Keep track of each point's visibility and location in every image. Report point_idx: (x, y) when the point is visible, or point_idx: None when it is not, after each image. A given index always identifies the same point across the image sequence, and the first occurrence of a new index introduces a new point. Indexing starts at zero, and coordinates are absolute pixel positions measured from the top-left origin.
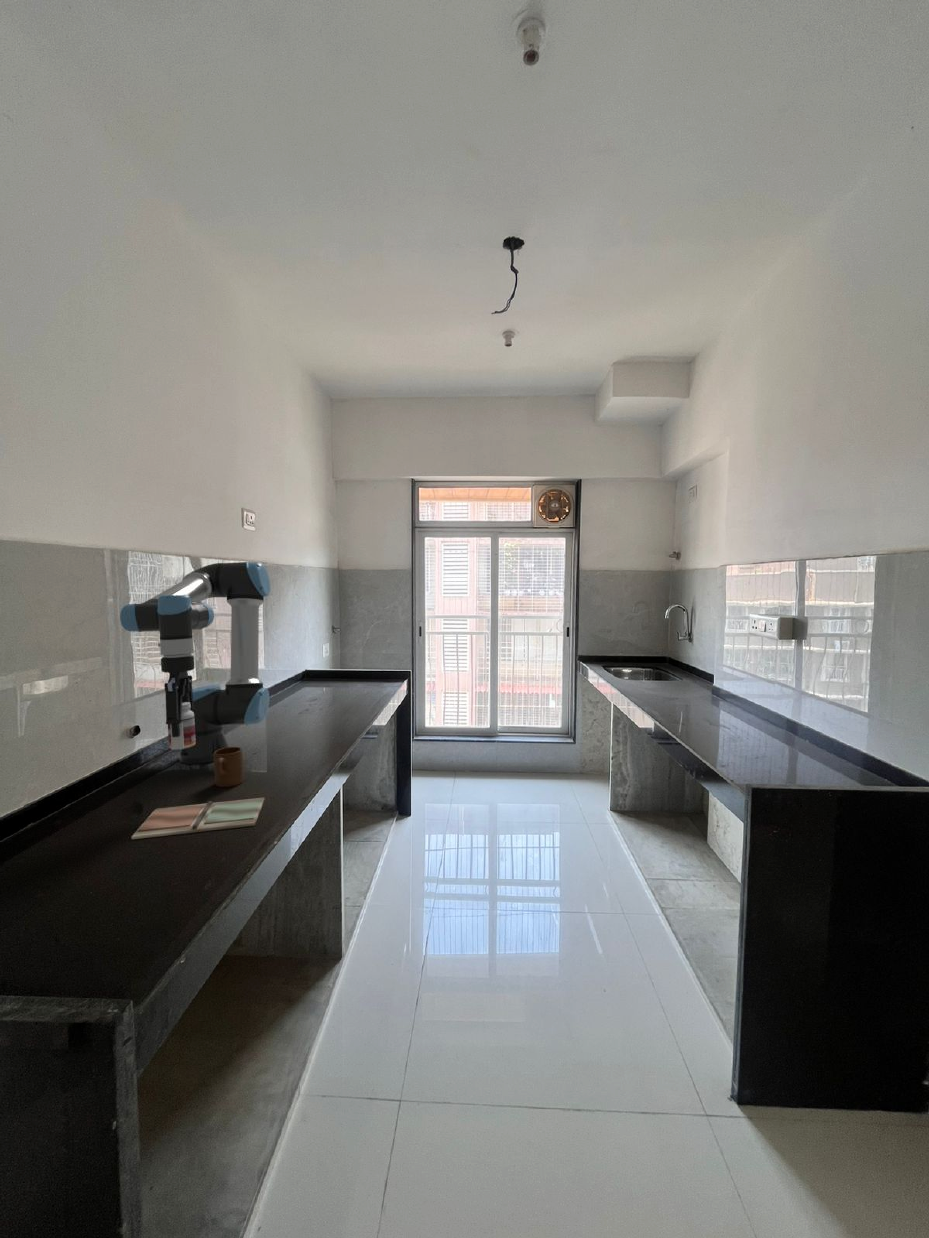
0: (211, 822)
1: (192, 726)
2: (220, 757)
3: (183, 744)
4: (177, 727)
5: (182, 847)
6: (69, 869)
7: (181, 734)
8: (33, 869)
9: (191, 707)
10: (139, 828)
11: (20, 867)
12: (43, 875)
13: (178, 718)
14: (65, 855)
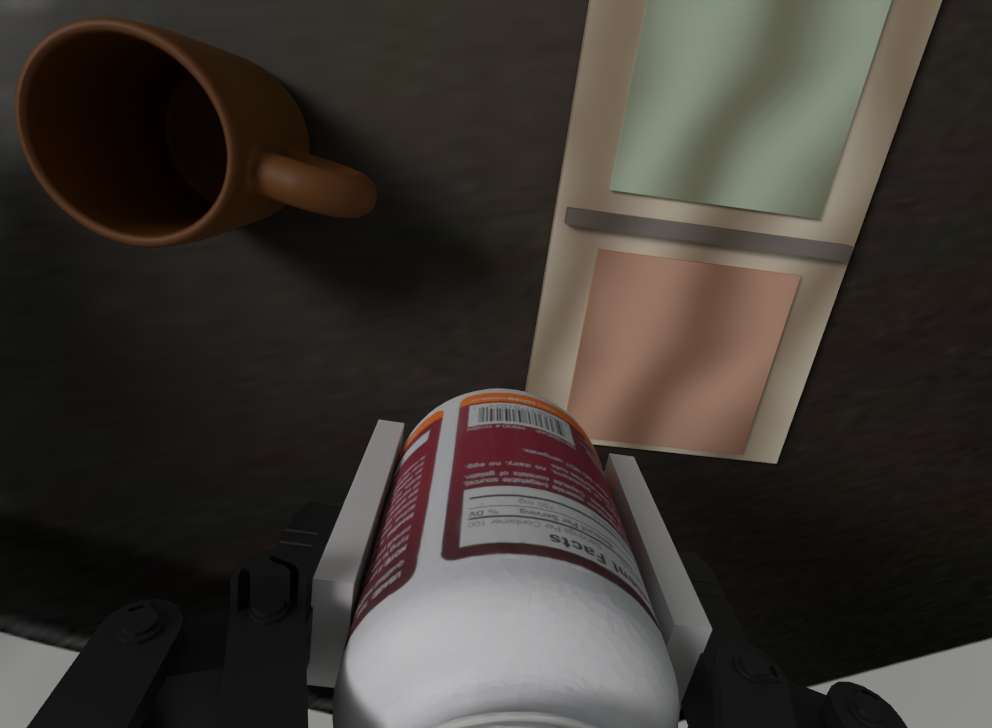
0: (829, 185)
1: (567, 491)
2: (240, 191)
3: (631, 473)
4: (742, 630)
5: (966, 276)
6: (898, 568)
7: (668, 542)
8: (833, 645)
9: (154, 683)
10: (708, 453)
11: (797, 675)
12: (893, 614)
13: (843, 721)
14: (783, 602)
